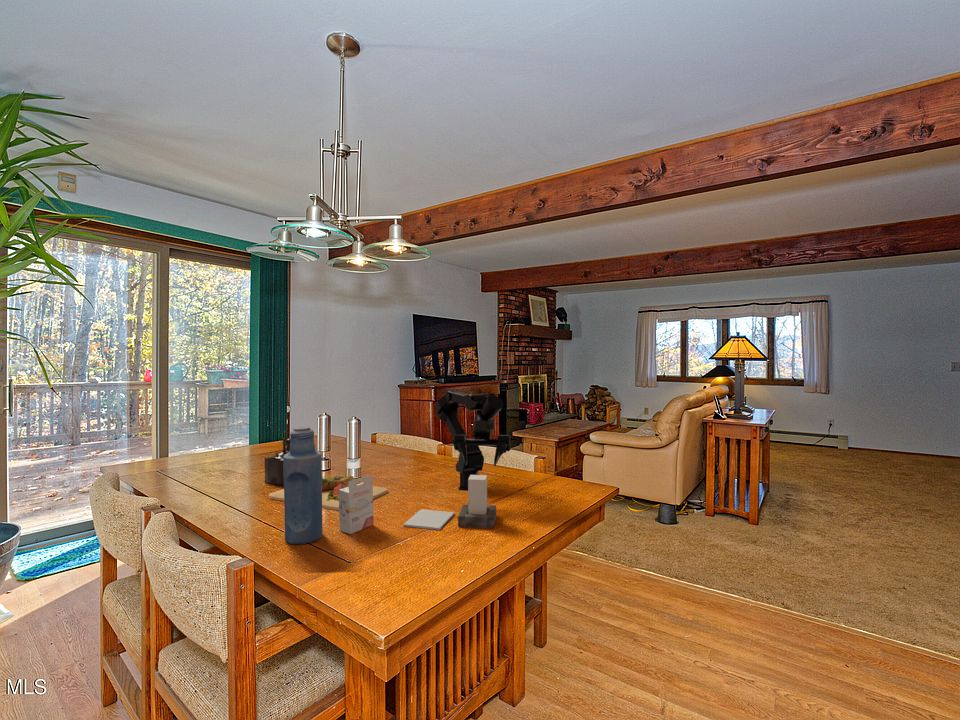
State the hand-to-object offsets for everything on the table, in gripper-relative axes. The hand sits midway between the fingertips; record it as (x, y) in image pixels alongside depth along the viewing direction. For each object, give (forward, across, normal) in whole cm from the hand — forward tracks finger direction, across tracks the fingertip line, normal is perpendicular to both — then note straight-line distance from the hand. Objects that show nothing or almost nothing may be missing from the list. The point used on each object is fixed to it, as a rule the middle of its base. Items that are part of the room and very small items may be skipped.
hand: (480, 465), depth 148 cm
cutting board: (+3, -54, +17) cm, 57 cm away
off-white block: (+18, 0, +2) cm, 18 cm away
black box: (-7, -77, +26) cm, 82 cm away
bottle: (+29, -45, -9) cm, 55 cm away
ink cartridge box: (+24, -34, -4) cm, 41 cm away
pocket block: (+18, 0, +2) cm, 18 cm away
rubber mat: (+18, -14, +2) cm, 23 cm away
